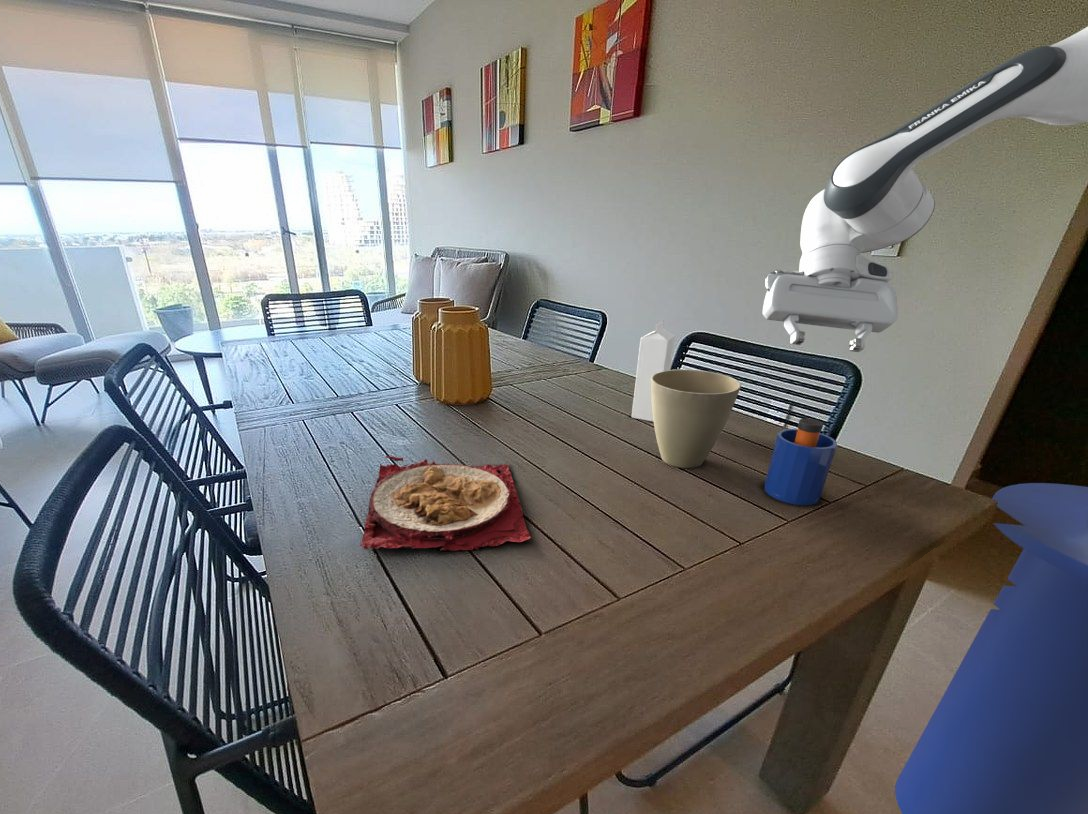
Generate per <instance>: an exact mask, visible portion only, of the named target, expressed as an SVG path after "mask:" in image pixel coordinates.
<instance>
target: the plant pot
mask: <svg viewBox="0 0 1088 814" xmlns="http://www.w3.org/2000/svg"><path fill="white" fill-rule="evenodd" d="M741 387H742V384H741V382H740V381H739V380H738V379H735V378H734V377H732V376H729V375H726V374H722V373H718V372H713V371H707V370H699V369H680V368H679V369H670V370H667V371H661V372H658V373H655V374H654V375H652V377H651V400H652V413H653V421H654V422H653V421H652V422H653V426H654V432H655V437H656V438H655V439H656V442H657V447H658V450H659V454H660V458H661V460H662V461H663V462H664V463H666V464H667V465H669V466H671V467H675V468H681V469H694V468H695V469H696V468H698V467H700V466H702V464H703V463H704V462H705V460H706V458H707V457H708V456H709V454H710V453H711V451H712V450H713V448H714V446H715V444H716V442H717V441H718V439H719V438H720V436H721V434H722V432H723V430H724V428H725V426H726V424H727V422H728V420H729V417H730V415H731V413H732V411H733V408H734V406H735V403H736V401H737V397H738V395H739V393H740V390H741Z"/></svg>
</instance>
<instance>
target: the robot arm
mask: <svg viewBox="0 0 1088 814" xmlns="http://www.w3.org/2000/svg"><path fill="white" fill-rule="evenodd" d="M1008 118H1024V119H1028V120H1032V121H1035V122H1039V123H1041V124H1044V125H1050V126H1063V127H1065V126H1066V127H1067V126H1076V125H1077V126H1078V125H1082V124H1087V123H1088V26H1085V28H1082V29H1081V30H1080V31H1079V30H1078V32H1075V33H1074V34H1072V35H1070V36H1068V37H1066V38H1065V39H1063V40H1060V41H1058V42H1056V43H1054V44H1053V43H1052V44H1051V45H1042V46H1041V45H1040V46H1037V47H1034V48H1030V49H1028V50H1025V51H1024V52H1021V53H1019V54H1017V55H1015V56H1013V57H1011V58H1009V59H1007V60H1005V61H1004V62H1002V63H1000V64H999V65H997V66H995V67H994V68H992V69H991V70H989V71H987V72H985V73H984V74H982V75H980V76H978V77H977V78H976V79H974V80H972V81H970V82H969V83H968V84H966V85H964V86H963V87H962V88H959V89H958V90H957V91H955V92H954V93H951V94H950V95H948V96H947V97H945V98H944V99H942V100H941V101H938V103H936V104H934V105H933V106H931V107H930V108H927V109H926V110H924V111H923V112H922V113H920V114H918V115H917V116H915V117H913V118H912V119H911V120H909V121H908V122H906V123H904V124H903V125H900V127H898V128H896V129H895V130H892V131H891V132H889V133H887V134H885V135H883V136H882V137H880V138H878V139H876V140H873V141H871V142H869V143H867V144H865V145H863V146H861V147H859V148H856V149H855V150H854V151H852V152H851V153H849V154H847V155H846V156H845V157H844V158H843V159H841V161H840V162H839V163H838V164H837V165H836V166H835V168H834V169H833V170H832V172H831V173H830V175H829V177H828V179H827V181H826V183H825V187H824V189H822V190H821V191H819V192H817V194H816V195H814V196H813V197H812V198H811V199H810V201H809V203H808V204H807V206H806V208H805V210H804V213H803V216H802V221H801V226H800V229H801V230H800V237H799V240H800V241H799V247H800V249H801V257H800V259H799V265H798V270H784V269H775V270H774V271H771V272H769V273H768V274H767V275H766V277H765V283H764V284H765V285H764V286H765V289H766V293H765V296H764V299H763V306H762V316H763V318H765V319H766V320H767V321H774V322H782V323H783V328H784V329H785V331H786V332H787V334H788V335H789V336H790V337H789V338H790V339H789V340H790V341H789V343H790V345H797V346H801V345H802V344H804V342H805V339H806V337H805V336H806V332H805V331H802V330H800V329H799V326H798V324H800V325H810V326H818V327H827V328H836V329H843V330H853V331H854V333H855V335H856V336H857V337H854V338H853V339H852V340H850V341H848V351H849V352H854V353H860V352H862V351H863V350H864V349H865V347H866V339H867V338H868V336H869V335H870V334H871V333H877V334H878V333H881V332H883V331H885V330H886V329H888V328H889V327H891V326H892V325H894V324H895V323H896V321H897V320H898V317H899V316H898V314H899V311H898V310H899V309H898V308H899V307H898V297H897V292H896V289H895V287H894V286H893V285H892V283H890V281H892V279H893V278H894V270H893V269H892V268H891V267H889V266H886V265H883V264H881V263H878V262H876V261H873V260H871V259H869V258H867V257H866V256H864V255H861V254H865V253H870V252H875V251H878V250H879V251H880V250H882V249H885V248H889V247H891V246H895V245H898V244H902V243H904V242H905V241H907V240H909V239H910V238H912V237H914V236H915V235H916V234H918V233H919V232H920V231H921V230H922V229H923V228H924V227H925V226H926V225H927V223H928V222H929V221H930V219H931V217H932V215H933V214H934V211H935V207H936V201H935V198H934V196H933V195H932V194H931V192H930V191H929V190H928V188H927V186H926V185H925V184H924V183H923V181H922V180H921V179H920V178H919V177H918V176H917V175H916V173H915V172H914V171H913V170H912V169H913V168H914V167H916V165H918V164H919V163H921V162H922V161H924V160H926V159H927V158H929V157H931V156H933V155H934V154H936V153H938V152H939V151H941V150H943V149H944V148H946V147H948V146H949V145H951V144H953V143H955V142H957V141H959V140H960V139H962V138H963V137H965V136H967V135H969V134H970V133H972V132H975V130H977V129H979V128H981V127H983V126H984V125H987V124H989V123H992V122H995V121H997V120H1002V119H1008Z"/></svg>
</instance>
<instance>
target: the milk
mask: <svg viewBox="0 0 1088 814" xmlns="http://www.w3.org/2000/svg"><path fill="white" fill-rule="evenodd" d="M664 324H665V320H661V321H660V322H658V323H656V324H655V329H654V330H653V331H651V332H649V333H647V334H645V335H643V336H642V337H640V341H639V350H638V359H637V367H636V374H635V375H636V376H635V385H634V394H633V400H632V408H631V418H632V419H638V420H642V421H648V422H653V423H654V421H653V413H652V400H651V377H652V375H654V374H655V373H658V372H661V371H667V370H671V368H672V367H671V366H672V361H673V353H674V348H675V340H676V335H674V334H673V333H672V332H670V331H669V330H668V329H666V328H665V327H664Z"/></svg>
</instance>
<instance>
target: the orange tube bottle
mask: <svg viewBox="0 0 1088 814" xmlns="http://www.w3.org/2000/svg"><path fill="white" fill-rule="evenodd" d="M823 427H824V422H822V421H821V420H818V419H813V418H800V419H799V421H798V424H797V429H798V430H797V434H796V437H795V441H794V443H795V444H798V445H802V446H808V447H816V445H817V442H818V438H819V435H820V433H821V432H822V431H823Z"/></svg>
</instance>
